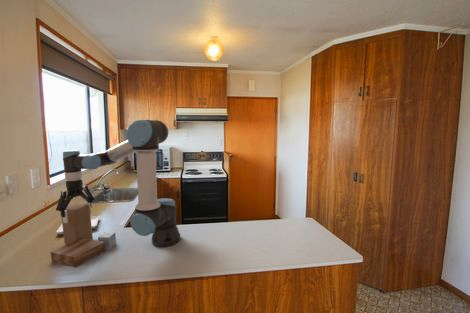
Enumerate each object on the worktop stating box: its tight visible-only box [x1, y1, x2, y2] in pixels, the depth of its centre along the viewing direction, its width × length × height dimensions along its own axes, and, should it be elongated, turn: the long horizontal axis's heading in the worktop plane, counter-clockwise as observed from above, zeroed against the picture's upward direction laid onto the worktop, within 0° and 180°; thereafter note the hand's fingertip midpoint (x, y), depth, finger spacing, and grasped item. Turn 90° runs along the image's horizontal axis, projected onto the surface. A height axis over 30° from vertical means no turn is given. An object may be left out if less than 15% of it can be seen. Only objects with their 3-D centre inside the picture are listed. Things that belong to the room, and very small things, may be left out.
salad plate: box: [55, 215, 101, 235], centre depth 160 cm, size 21×21×3 cm
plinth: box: [50, 238, 107, 269], centre depth 123 cm, size 16×16×5 cm
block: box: [61, 203, 94, 245], centre depth 139 cm, size 10×10×20 cm
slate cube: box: [97, 231, 117, 249], centre depth 134 cm, size 6×6×6 cm
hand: (77, 218), depth 137 cm, fingers open, 13 cm apart
